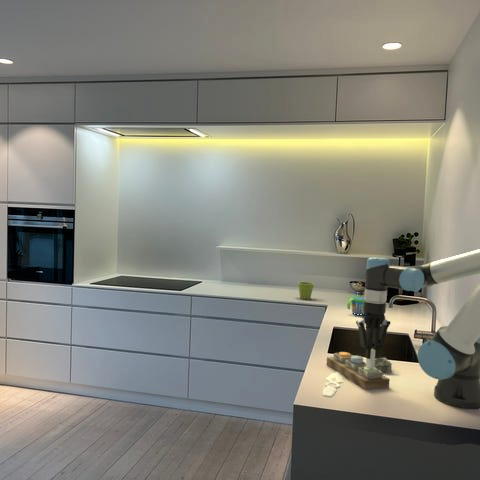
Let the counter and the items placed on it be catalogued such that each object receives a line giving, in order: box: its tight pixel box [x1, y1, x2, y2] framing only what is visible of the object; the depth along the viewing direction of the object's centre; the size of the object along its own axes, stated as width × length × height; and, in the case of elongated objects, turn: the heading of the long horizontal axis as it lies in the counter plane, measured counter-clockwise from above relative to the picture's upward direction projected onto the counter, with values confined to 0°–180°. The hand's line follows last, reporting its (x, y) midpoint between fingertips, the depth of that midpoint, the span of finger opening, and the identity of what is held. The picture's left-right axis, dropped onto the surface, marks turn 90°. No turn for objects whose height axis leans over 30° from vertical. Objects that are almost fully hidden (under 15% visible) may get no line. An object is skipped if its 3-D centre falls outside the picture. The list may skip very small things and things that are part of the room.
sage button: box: [364, 366, 377, 373], centre depth 164 cm, size 4×4×2 cm
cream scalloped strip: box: [322, 371, 345, 398], centre depth 164 cm, size 6×28×1 cm, turn 160°
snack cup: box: [346, 296, 366, 314], centre depth 282 cm, size 16×10×10 cm
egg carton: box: [374, 356, 393, 373], centre depth 182 cm, size 11×8×4 cm
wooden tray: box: [326, 352, 390, 390], centre depth 172 cm, size 26×10×5 cm, turn 19°
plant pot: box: [297, 281, 315, 301], centre depth 326 cm, size 12×12×11 cm
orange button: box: [338, 351, 351, 358], centre depth 180 cm, size 4×4×2 cm
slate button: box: [351, 355, 364, 365], centre depth 172 cm, size 4×4×2 cm
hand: (370, 367), depth 164 cm, fingers closed
